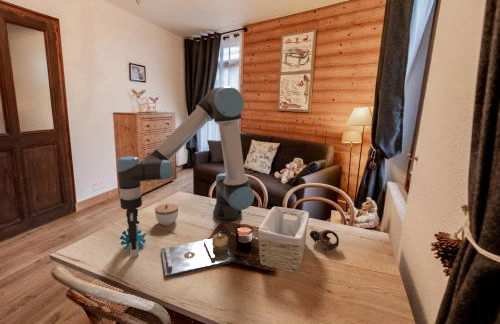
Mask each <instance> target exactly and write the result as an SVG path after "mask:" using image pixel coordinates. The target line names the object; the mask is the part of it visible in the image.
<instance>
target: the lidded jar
mask: <svg viewBox="0 0 500 324" xmlns="http://www.w3.org/2000/svg"><path fill="white" fill-rule="evenodd" d="M154 213H155V214H154V215H155V219H156V220H157V222H158V223H159V224H161V225H162V226H170V225H173V224H174V223H175V222H176V220H177V218H178V215H179V206H178V205H177V204H175V203H163V204H160V205H158V206H156V207H155V208H154Z"/></svg>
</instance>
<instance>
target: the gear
mask: <svg viewBox="0 0 500 324" xmlns="http://www.w3.org/2000/svg"><path fill="white" fill-rule="evenodd" d="M121 234H122V235H121V236H120V237H119V240H121V242H120V245H121V246H124V245H125V246H124V247H123V248H124V250H125V251H127V250H128V249H129V248H130V243H129V242H128V243H127V241H129V228H128V227H127V229H126V230H124V231H122V233H121ZM146 236H147V232H144V233H142V231H141V229H138V232H137V241H138V252H139V251H140V250H141V249H143V247H145V245H144V244H145V243H146V241H147V240H146V239H144V238H145V237H146Z"/></svg>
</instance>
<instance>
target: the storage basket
mask: <svg viewBox="0 0 500 324" xmlns="http://www.w3.org/2000/svg"><path fill="white" fill-rule="evenodd" d="M285 215H289V216H295V217H296V220H295V219H286V218H284V216H285ZM309 220H310V213H309V211H307V210H301V209H295V208H288V207H283V206H282V207H281V206H273V207H271V209H270V210H269V212H268V213H267V214H266V217H265V218H264V219H263V222H261V224H260V226H259V228H258V230H257V231H258V233H257V241H258V250H259V251H258V252H259V261H260V262H259V263H260V264H261V265H262V266H264V265H266V266H265V267H269V266H270V267H269V268H273V267H274V268H273V269H277V270H281V271H286V272H290V273H298V272H299V269H300V267H301V264H302V260H303V257H304V252H305V248H306V240H307V239H306V238H307V231H308V224H309Z"/></svg>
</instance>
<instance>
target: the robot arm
mask: <svg viewBox="0 0 500 324" xmlns="http://www.w3.org/2000/svg"><path fill="white" fill-rule="evenodd" d="M244 100H245V99H244V97H243V95H242V93H241V92H240V91H239V90H238V89H237V88H235V87H232V86H226V85H225V86H220V87H215V88H213V89H211V90H210V91H208V93H206V94H205V96H204V97H203V98H202V99H201V100H200V101H199V102H198V103H197V104H196V105H195V109H194V111H192V112H191V113H190V115H188V116H187V117H186V119H184V120H183V121H182V122H181V123H180V125H178V126H177V127H176V129H174V130H173V131H172V132H171V133H170V134H169V135H168V136H167V137H166V138H165V139H164V140H163V141H162V142H161V143H160V144H159V145H158V146H157V147H156V148H155V149H154V150H152V152H150V153H148V154H147V155H146V156H145V158H144V161H140V159H139V157H138V156H131V155H128V156H122V157H119V158H118V159H117V161H116V168H117V172H116V173H117V179H118V180H117V181H118V188H119V189H117V192H118V193H119V201H120V202H119V203H120V208H121V209H122V210H126V214H125V215H126V221H127V222H126V223H127V224H128V225H127V226H128V227H127V229H128V228H129V241H127V243H128V242H129V243H130V247H129V252H130V258H133V257H137V256H139V251H138V241H137V232H138V231H139V224H140V220H138V214H139V211H138V210H139V209H138V208H140V207H142V205H143V200H142V199H143V197H142V184H141V182H147V181H160V180H161V181H163V180H168V179H172V177H173V173H174V172H173V171H174V170H173V168H174V167H173V163H172V161H171V159H172V158H173V157H174V156H176V154H177V153H178V152H179V151H180V150H181V149H182V148H183V147H184V146H185V145H186V144H187V143H188V142H189V141H190V140H191V139H192V138H193V137H194V136H195V135H196V134H197V133H198V132H199V131H200V130H201V129H203V127H204V126H205V125H206V124H207V123H208V122H212V121H213V120H214V123H215V124H217V125H218V130H219V136H220V144H221V149H222V150H221V151H222V157H223V158H222V159H223V163H224V172H222V173H219V174H217V175H216V178H215V191H216V194H215V195H216V196H215V197H216V199H215V200H216V202H215V205H214V208H213V211H212V217H213V219H214V220H216V221H219V222H223V223H232V222H236V221H238V220H240V219H241V218H242V217H243V211H244V210H246V209H248V208H249V207H250V206H251V205H252V204H253V202H254V199H255V193H254V191H253V189H252V188H251V186H250V179H249V178H250V177H248V176H247V175H246V173H245V165H244V157H243V156H244V155H243V150H242V149H243V148H242V141H241V139H242V138H241V132H240V122H241V121H242V111H243V109H244V107H245V106H244V105H245V101H244Z"/></svg>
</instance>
